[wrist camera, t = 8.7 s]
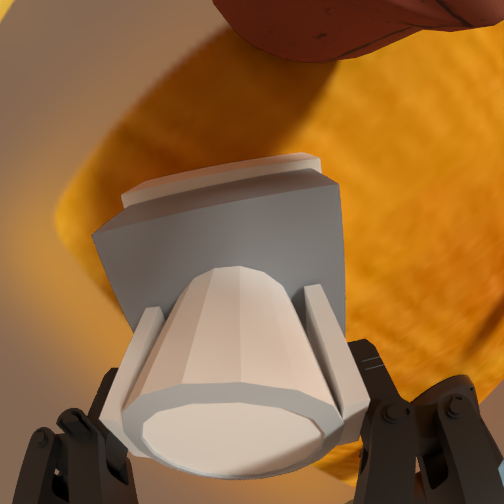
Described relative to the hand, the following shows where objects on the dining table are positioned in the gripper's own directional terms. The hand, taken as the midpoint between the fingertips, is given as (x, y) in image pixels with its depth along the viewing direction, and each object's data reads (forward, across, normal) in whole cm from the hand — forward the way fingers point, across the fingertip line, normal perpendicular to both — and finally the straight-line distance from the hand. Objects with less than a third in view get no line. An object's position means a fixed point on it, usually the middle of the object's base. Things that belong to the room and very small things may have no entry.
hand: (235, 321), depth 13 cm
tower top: (+5, 0, 0) cm, 5 cm away
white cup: (+1, 0, 0) cm, 1 cm away
